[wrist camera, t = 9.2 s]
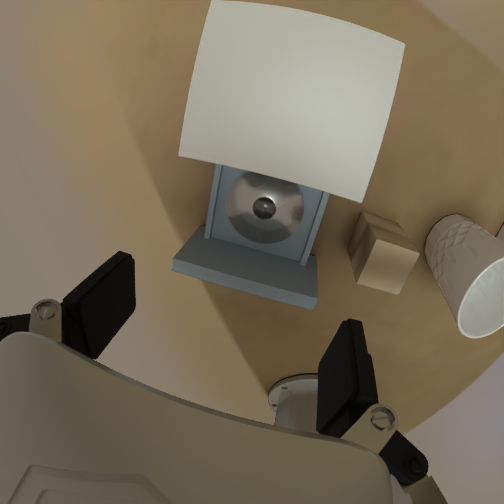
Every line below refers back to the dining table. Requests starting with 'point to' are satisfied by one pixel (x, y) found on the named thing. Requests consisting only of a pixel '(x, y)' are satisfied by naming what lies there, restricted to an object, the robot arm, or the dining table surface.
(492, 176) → the dining table surface
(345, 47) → the housing
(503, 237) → the jar
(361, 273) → the beige block
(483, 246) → the white cup
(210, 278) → the blue-grey open box
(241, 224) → the disc
